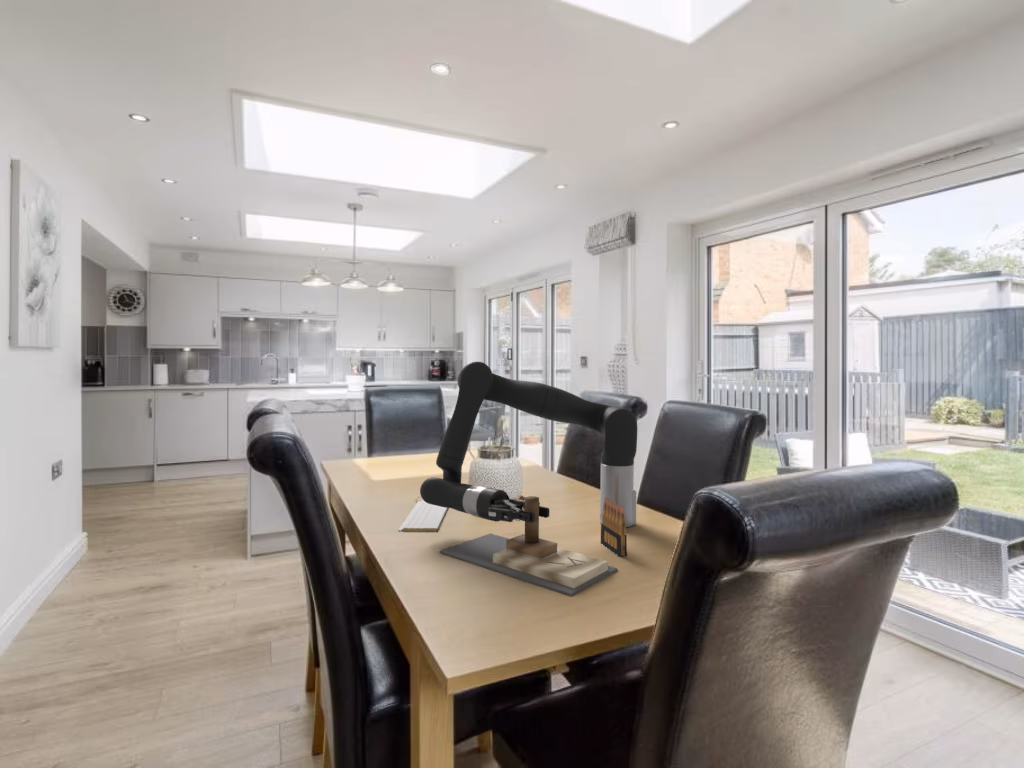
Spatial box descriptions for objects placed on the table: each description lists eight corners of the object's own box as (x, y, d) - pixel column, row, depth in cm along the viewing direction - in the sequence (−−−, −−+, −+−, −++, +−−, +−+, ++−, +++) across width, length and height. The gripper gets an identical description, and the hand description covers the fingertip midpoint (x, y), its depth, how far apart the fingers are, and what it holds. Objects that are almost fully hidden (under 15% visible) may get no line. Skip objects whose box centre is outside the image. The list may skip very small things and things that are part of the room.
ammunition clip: (600, 543, 142) (600, 496, 142) (607, 542, 143) (607, 495, 142) (619, 557, 132) (620, 506, 132) (626, 556, 133) (627, 506, 132)
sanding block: (506, 550, 128) (506, 496, 128) (522, 544, 133) (523, 492, 133) (541, 561, 122) (541, 504, 122) (557, 554, 127) (557, 499, 126)
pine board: (492, 562, 126) (492, 553, 126) (528, 548, 136) (528, 540, 136) (574, 588, 112) (574, 578, 112) (607, 570, 122) (607, 561, 122)
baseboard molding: (392, 533, 151) (437, 533, 151) (392, 522, 151) (437, 523, 151) (413, 504, 182) (450, 504, 182) (413, 495, 182) (450, 495, 182)
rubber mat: (439, 552, 134) (439, 550, 134) (490, 535, 148) (490, 533, 148) (571, 596, 110) (571, 593, 110) (617, 570, 123) (617, 568, 123)
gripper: (464, 492, 131) (521, 504, 120) (505, 482, 142) (560, 493, 131) (464, 524, 131) (521, 539, 120) (504, 512, 142) (560, 525, 131)
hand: (541, 515), depth 125 cm, fingers open, 4 cm apart
